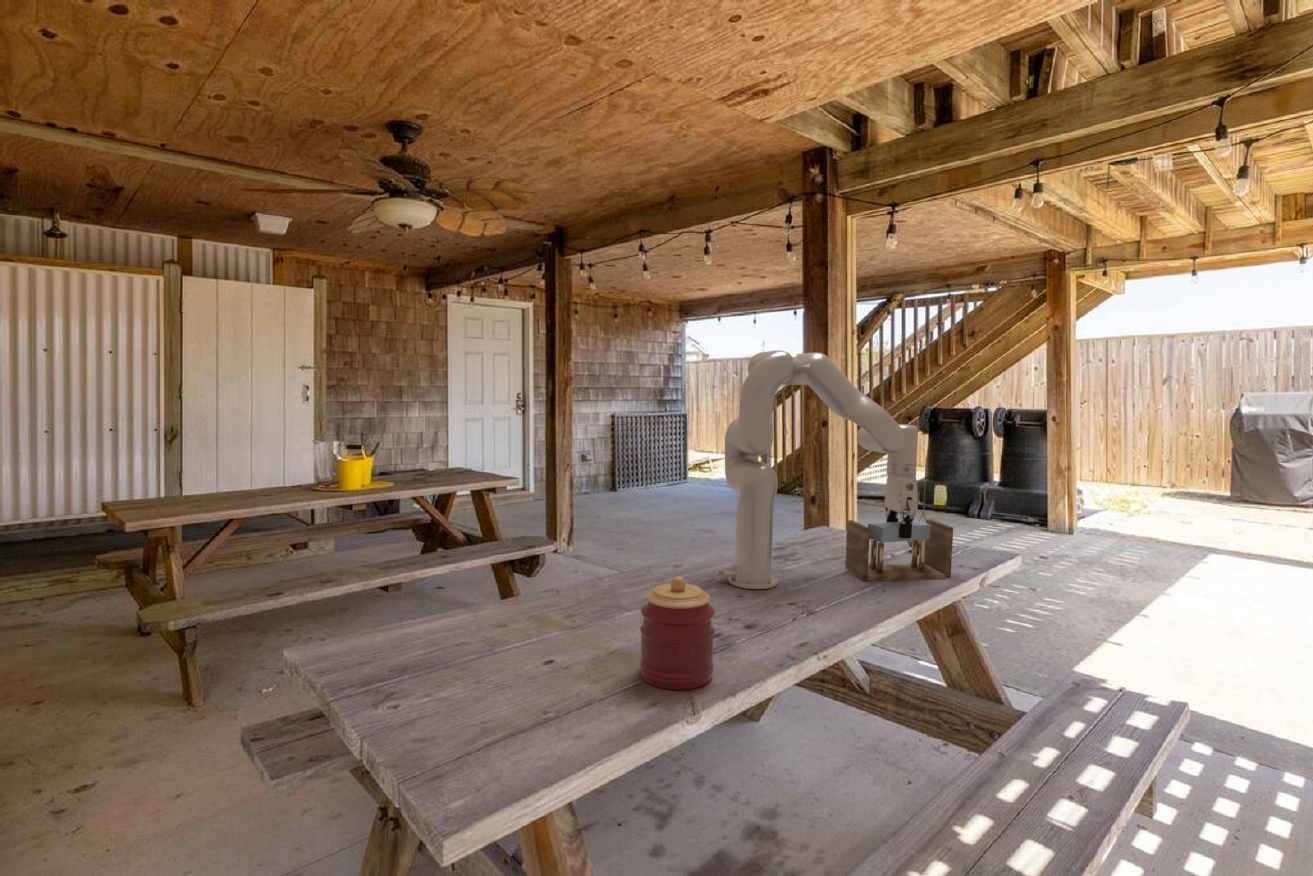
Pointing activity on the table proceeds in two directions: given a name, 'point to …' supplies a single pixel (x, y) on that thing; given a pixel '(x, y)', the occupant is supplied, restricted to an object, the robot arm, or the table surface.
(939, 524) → the shelf frame
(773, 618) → the table surface
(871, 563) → the shelf pegs
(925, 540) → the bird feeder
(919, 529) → the shelf board
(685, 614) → the canister
